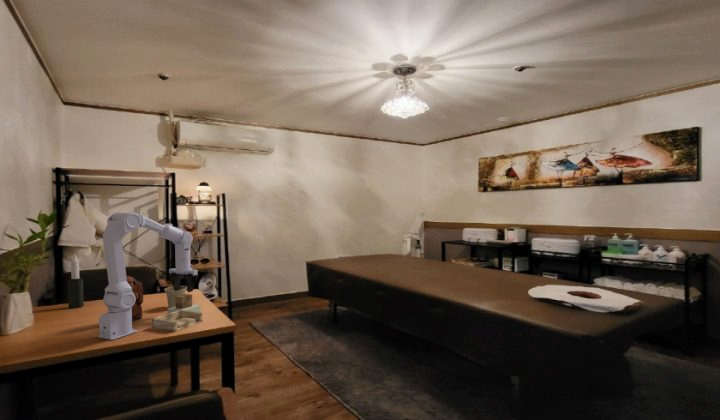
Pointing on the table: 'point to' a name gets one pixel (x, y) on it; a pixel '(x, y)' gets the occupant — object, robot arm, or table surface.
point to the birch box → (176, 320)
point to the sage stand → (186, 309)
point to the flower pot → (172, 293)
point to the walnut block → (183, 301)
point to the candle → (75, 286)
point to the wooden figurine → (138, 293)
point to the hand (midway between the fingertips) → (183, 291)
